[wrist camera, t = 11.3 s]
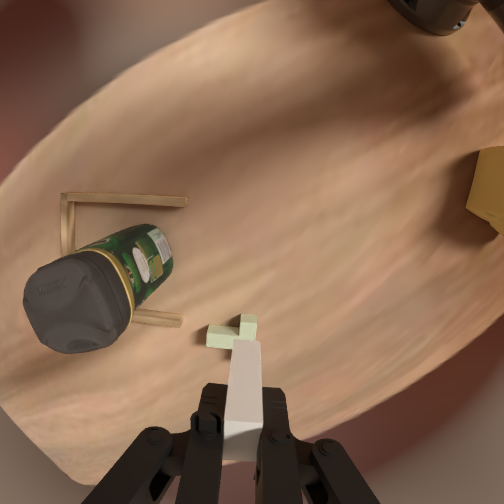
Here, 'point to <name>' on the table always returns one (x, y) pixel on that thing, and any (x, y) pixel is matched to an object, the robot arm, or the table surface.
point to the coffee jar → (96, 289)
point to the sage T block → (232, 332)
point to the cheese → (489, 188)
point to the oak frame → (71, 197)
